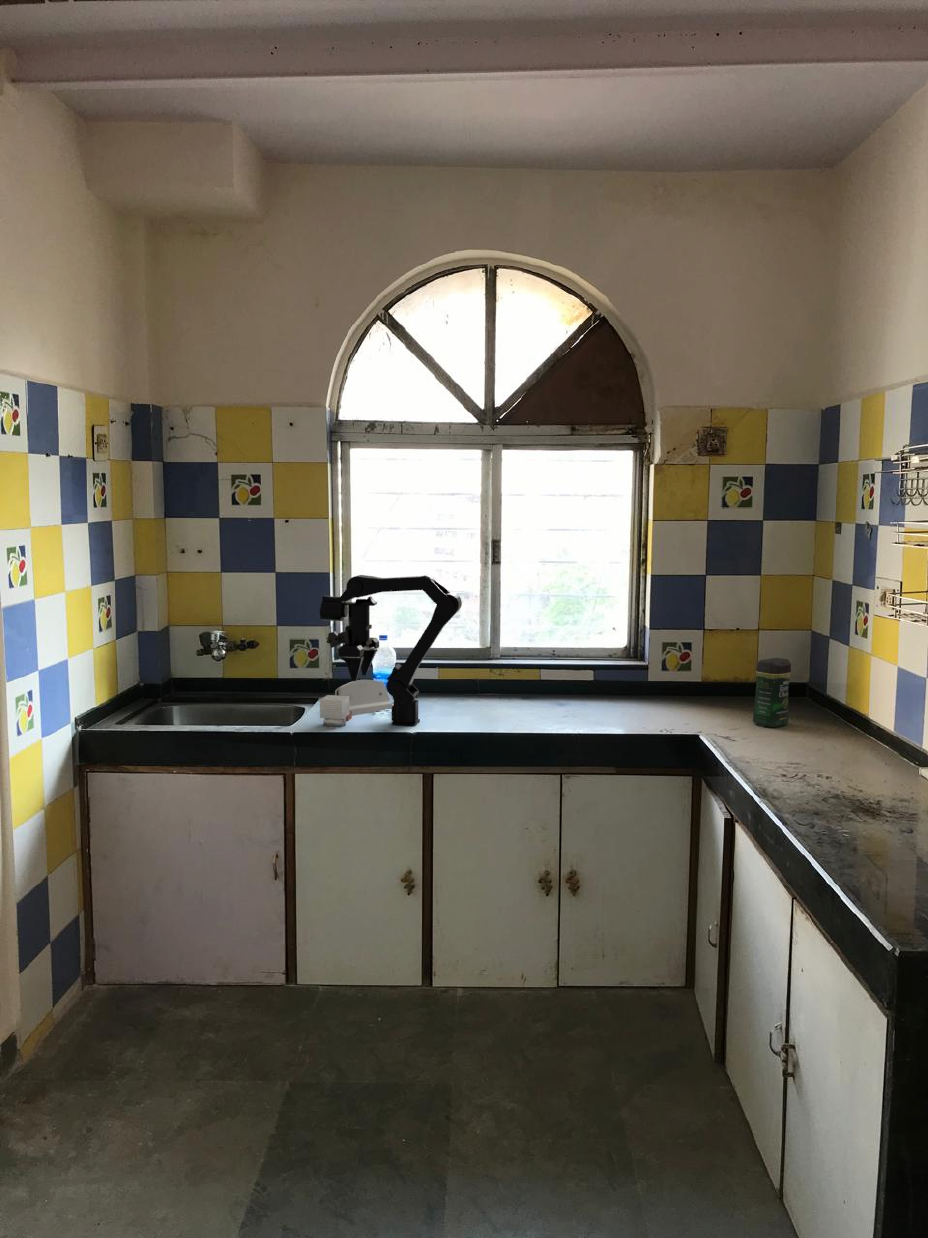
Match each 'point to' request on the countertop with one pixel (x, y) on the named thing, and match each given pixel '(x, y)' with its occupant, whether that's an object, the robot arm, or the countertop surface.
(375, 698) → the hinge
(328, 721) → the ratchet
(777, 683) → the coffee jar
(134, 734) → the countertop surface
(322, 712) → the grey cube
